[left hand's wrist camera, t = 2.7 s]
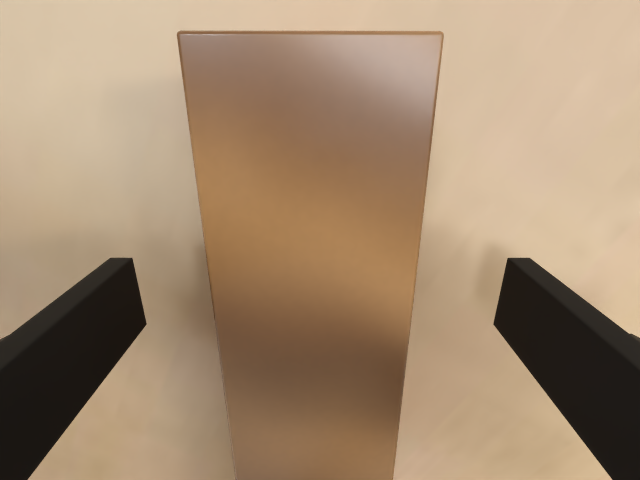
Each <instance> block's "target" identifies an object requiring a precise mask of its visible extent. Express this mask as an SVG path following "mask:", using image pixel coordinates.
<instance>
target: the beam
mask: <svg viewBox="0 0 640 480" xmlns="http://www.w3.org/2000/svg"><path fill="white" fill-rule="evenodd" d="M443 38H444V35H443V32H441V31H179V32H178V33H177V39H178V47H179V55H180V62H181V70H182V77H183V85H184V92H185V100H186V107H187V115H188V122H189V130H190V137H191V145H192V153H193V160H194V168H195V175H196V183H197V190H198V198H199V205H200V213H201V220H202V228H203V235H204V243H205V250H206V258H207V266H208V273H209V281H210V288H211V296H212V303H213V311H214V318H215V326H216V333H217V341H218V348H219V356H220V364H221V371H222V379H223V386H224V394H225V401H226V409H227V416H228V424H229V431H230V439H231V446H232V454H233V462H234V469H235V477H236V480H393V473H394V464H395V456H396V447H397V438H398V430H399V421H400V412H401V404H402V395H403V386H404V377H405V369H406V360H407V351H408V343H409V334H410V325H411V317H412V308H413V299H414V290H415V282H416V273H417V264H418V256H419V247H420V238H421V230H422V221H423V212H424V203H425V195H426V186H427V177H428V169H429V160H430V151H431V143H432V134H433V125H434V116H435V108H436V99H437V90H438V82H439V73H440V64H441V55H442V47H443Z"/></svg>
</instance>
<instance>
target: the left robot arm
mask: <svg viewBox="0 0 640 480" xmlns="http://www.w3.org/2000/svg"><path fill="white" fill-rule="evenodd" d="M145 326H146V319H145V315H144V310H143V305H142V301H141V296H140V291H139V287H138V282H137V277H136V273H135V268H134V263H133V259H132V258H110V259H108V260H107V261H106V262H104V263H103V264H102V265H101V266H99V267H98V268H97V269H95V270H94V271H93V272H91V273H90V274H89V275H87V276H86V277H85V278H83V279H82V280H81V281H80V282H78V283H77V284H76V285H74V286H73V287H72V288H70V289H69V290H68V291H66V292H65V293H64V294H63V295H61V296H60V297H59V298H57V299H56V300H55V301H53V302H52V303H51V304H49V305H48V306H47V307H46V308H44V309H43V310H42V311H40V312H39V313H38V314H36V315H35V316H34V317H32V318H31V319H30V320H28V321H27V322H26V323H25V324H23V325H22V326H21V327H19V328H18V329H17V330H15V331H14V332H13V333H11V334H10V335H8V336H6V337H4V338H2V339H0V480H28V478H29V477H30V476H31V474H32V473H33V472H34V470H35V469H36V468H37V467H38V465H39V464H40V463H41V461H42V460H43V459H44V457H45V456H46V455H47V454H48V452H49V451H50V450H51V448H52V447H53V446H54V444H55V443H56V442H57V440H58V439H59V438H60V437H61V435H62V434H63V433H64V431H65V430H66V429H67V427H68V426H69V425H70V424H71V422H72V421H73V420H74V418H75V417H76V416H77V414H78V413H79V412H80V410H81V409H82V408H83V407H84V405H85V404H86V403H87V401H88V400H89V399H90V397H91V396H92V395H93V393H94V392H95V391H96V390H97V388H98V387H99V386H100V384H101V383H102V382H103V380H104V379H105V378H106V377H107V375H108V374H109V373H110V371H111V370H112V369H113V367H114V366H115V365H116V363H117V362H118V361H119V360H120V358H121V357H122V356H123V354H124V353H125V352H126V350H127V349H128V348H129V347H130V345H131V344H132V343H133V341H134V340H135V339H136V337H137V336H138V335H139V333H140V332H141V331H142V330H143V328H144V327H145ZM494 326H495V327H496V328H497V330H498V331H499V332H500V333H501V335H502V336H503V337H504V339H505V340H506V341H507V343H508V344H509V345H510V347H511V348H512V349H513V350H514V352H515V353H516V354H517V356H518V357H519V358H520V360H521V361H522V362H523V363H524V365H525V366H526V367H527V369H528V370H529V371H530V373H531V374H532V375H533V377H534V378H535V379H536V380H537V382H538V383H539V384H540V386H541V387H542V388H543V390H544V391H545V392H546V393H547V395H548V396H549V397H550V399H551V400H552V401H553V403H554V404H555V405H556V407H557V408H558V409H559V410H560V412H561V413H562V414H563V416H564V417H565V418H566V420H567V421H568V422H569V424H570V425H571V426H572V427H573V429H574V430H575V431H576V433H577V434H578V435H579V437H580V438H581V439H582V440H583V442H584V443H585V444H586V446H587V447H588V448H589V450H590V451H591V452H592V454H593V455H594V456H595V457H596V459H597V460H598V461H599V463H600V464H601V465H602V467H603V468H604V469H605V470H606V472H607V473H608V474H609V476H610V477H611V478H612V480H640V338H639V337H637V336H635V335H633V334H629V333H627V332H626V331H625V330H623V329H622V328H621V327H619V326H618V325H617V324H615V323H614V322H613V321H612V320H610V319H609V318H608V317H606V316H605V315H604V314H602V313H601V312H600V311H598V310H597V309H596V308H594V307H593V306H592V305H591V304H589V303H588V302H587V301H585V300H584V299H583V298H581V297H580V296H579V295H577V294H576V293H575V292H574V291H572V290H571V289H570V288H568V287H567V286H566V285H564V284H563V283H562V282H560V281H559V280H558V279H557V278H555V277H554V276H553V275H551V274H550V273H549V272H547V271H546V270H545V269H543V268H542V267H541V266H539V265H538V264H537V263H536V262H534V261H533V260H532V259H530V258H508V259H507V263H506V268H505V273H504V277H503V282H502V287H501V291H500V296H499V301H498V305H497V310H496V315H495V319H494Z"/></svg>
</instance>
